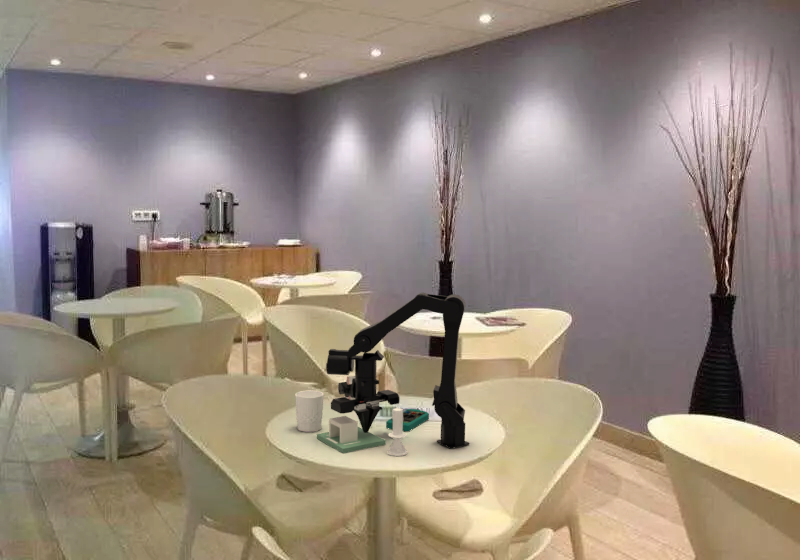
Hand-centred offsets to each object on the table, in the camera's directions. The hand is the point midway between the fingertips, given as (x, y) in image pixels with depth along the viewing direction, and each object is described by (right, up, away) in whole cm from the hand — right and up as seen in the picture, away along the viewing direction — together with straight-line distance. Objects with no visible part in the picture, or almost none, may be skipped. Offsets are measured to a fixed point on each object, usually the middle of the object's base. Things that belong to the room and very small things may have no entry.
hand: (365, 432), depth 201 cm
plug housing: (-6, -1, -4) cm, 7 cm away
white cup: (-16, -1, +9) cm, 18 cm away
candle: (+9, -3, -11) cm, 14 cm away
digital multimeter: (+12, -1, +15) cm, 19 cm away
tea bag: (-4, +1, +31) cm, 32 cm away
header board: (-4, -2, -2) cm, 5 cm away
